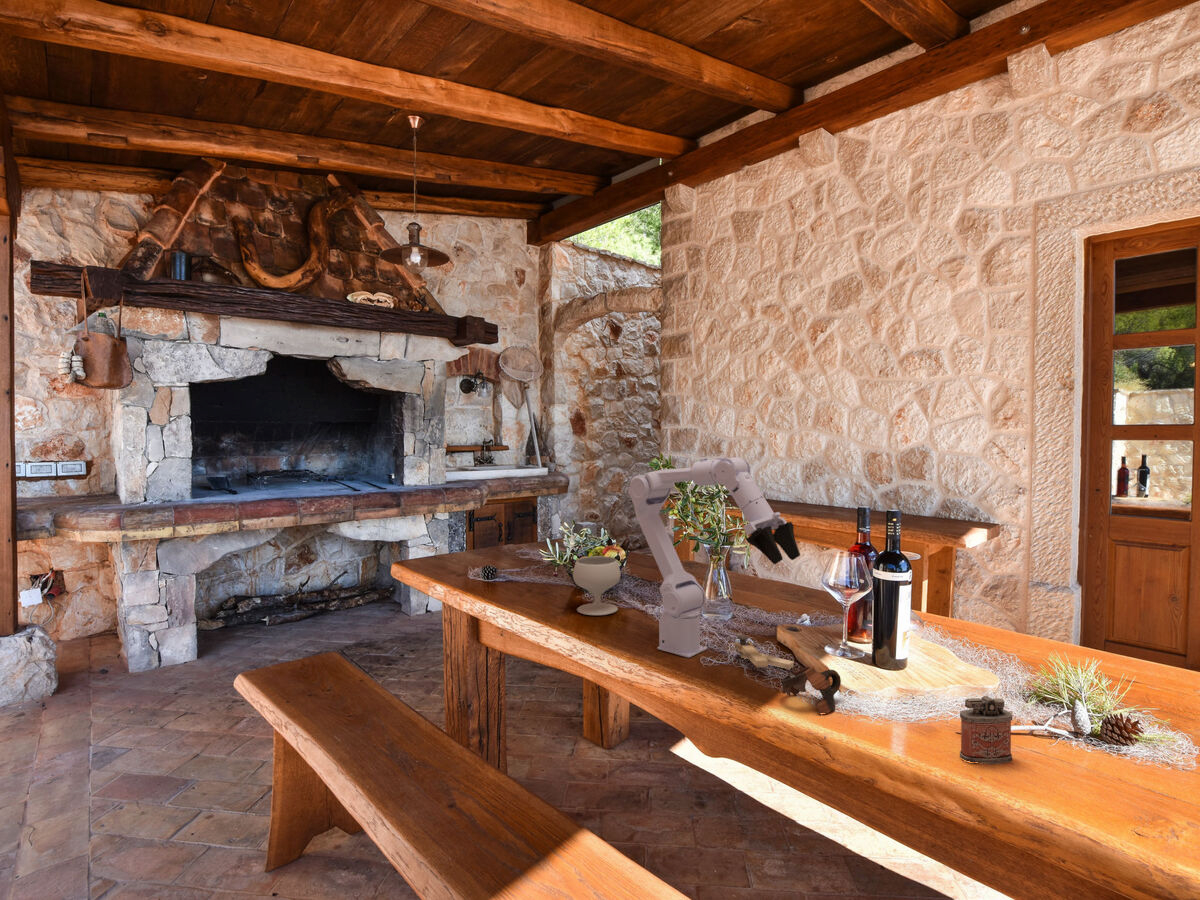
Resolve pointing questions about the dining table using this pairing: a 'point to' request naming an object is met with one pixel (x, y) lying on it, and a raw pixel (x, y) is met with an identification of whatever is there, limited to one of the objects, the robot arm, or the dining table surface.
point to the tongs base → (767, 656)
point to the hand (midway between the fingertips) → (787, 559)
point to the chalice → (596, 581)
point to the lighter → (986, 731)
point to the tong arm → (752, 654)
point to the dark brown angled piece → (814, 685)
